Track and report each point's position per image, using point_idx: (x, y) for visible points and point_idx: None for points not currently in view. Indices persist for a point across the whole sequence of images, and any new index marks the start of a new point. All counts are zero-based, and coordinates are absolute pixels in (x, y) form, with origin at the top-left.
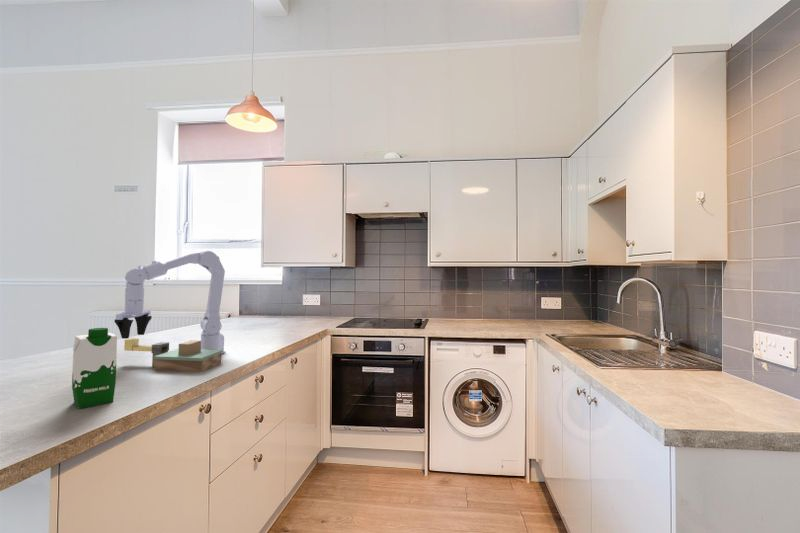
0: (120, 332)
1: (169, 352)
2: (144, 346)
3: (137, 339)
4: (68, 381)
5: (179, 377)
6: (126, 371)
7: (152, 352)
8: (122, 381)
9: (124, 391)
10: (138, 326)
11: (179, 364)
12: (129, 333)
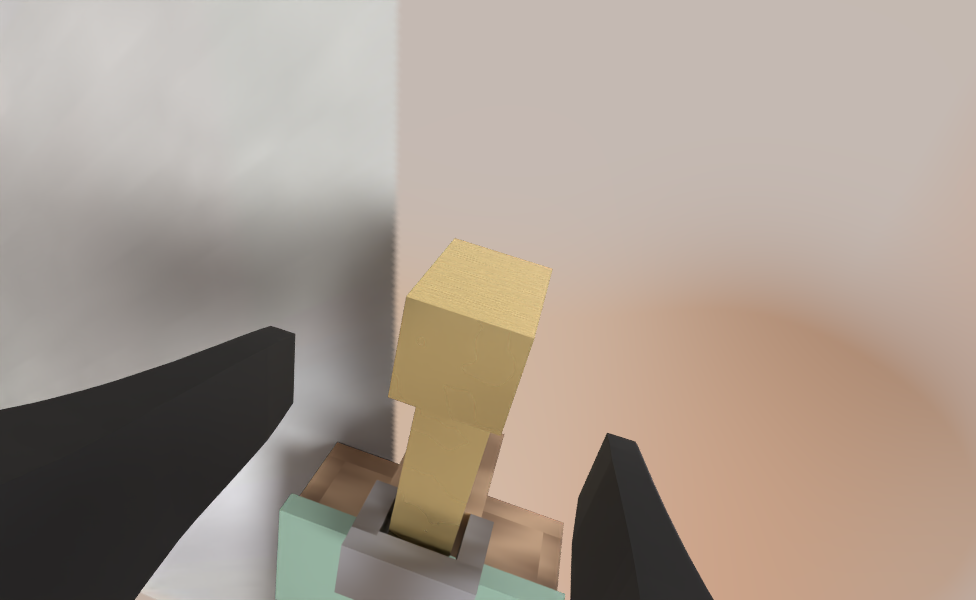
0: (172, 367)
1: None
2: (440, 449)
3: (480, 423)
4: (31, 37)
5: (230, 551)
6: (300, 300)
7: (374, 490)
8: (124, 358)
9: None
10: (614, 580)
11: None
12: (238, 468)
